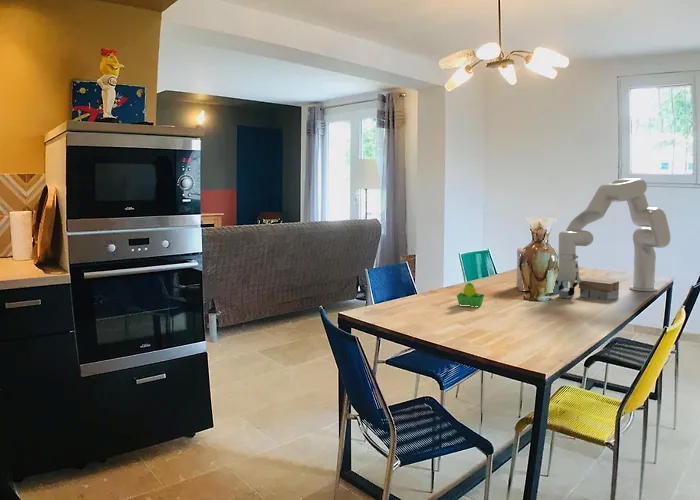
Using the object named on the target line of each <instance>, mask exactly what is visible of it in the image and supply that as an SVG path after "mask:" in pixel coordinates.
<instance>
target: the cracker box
mask: <svg viewBox="0 0 700 500" xmlns="http://www.w3.org/2000/svg"><path fill="white" fill-rule="evenodd" d="M523 249H524V248H523V247H522V248H521V247H520V248H517V250H516V251H517V252H516V253H517V254H516V255H517V257H516V259H517V260H516V284H515V285H516V286H515V287H516V288H517V290H518V292H522V291H523V290H524V288H523V283H522V278H521V274H520V270H519V257H520V254H521V252H522V250H523Z"/></svg>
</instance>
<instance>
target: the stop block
mask: <svg viewBox="0 0 700 500" xmlns="http://www.w3.org/2000/svg"><path fill="white" fill-rule="evenodd" d="M563 286H564V288H569V281H563ZM557 294H559V286H558V285H557V284H556V282H555V286H554V289H553V294H552V295H557Z"/></svg>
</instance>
